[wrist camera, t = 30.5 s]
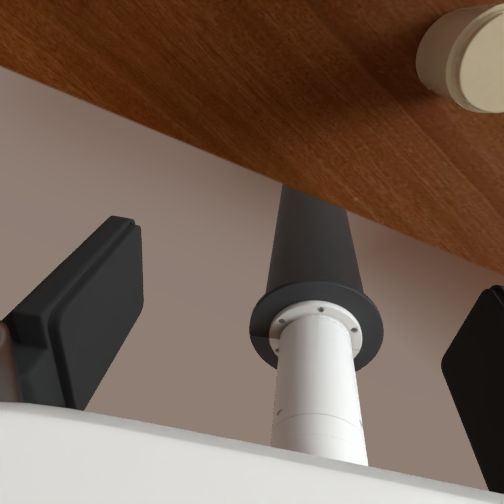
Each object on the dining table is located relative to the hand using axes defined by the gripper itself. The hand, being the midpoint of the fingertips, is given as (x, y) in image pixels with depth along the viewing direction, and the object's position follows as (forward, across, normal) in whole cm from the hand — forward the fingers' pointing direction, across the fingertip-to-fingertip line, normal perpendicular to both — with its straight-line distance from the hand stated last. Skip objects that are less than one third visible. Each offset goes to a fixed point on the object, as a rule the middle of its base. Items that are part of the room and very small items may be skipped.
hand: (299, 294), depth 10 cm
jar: (+28, -12, -6) cm, 31 cm away
